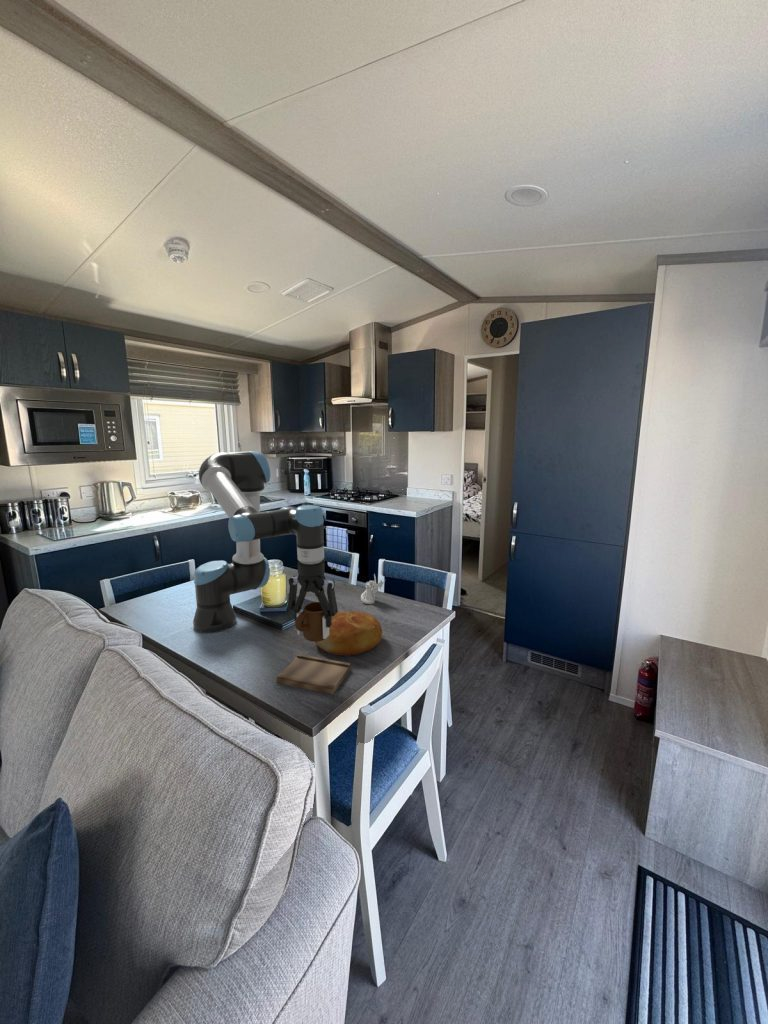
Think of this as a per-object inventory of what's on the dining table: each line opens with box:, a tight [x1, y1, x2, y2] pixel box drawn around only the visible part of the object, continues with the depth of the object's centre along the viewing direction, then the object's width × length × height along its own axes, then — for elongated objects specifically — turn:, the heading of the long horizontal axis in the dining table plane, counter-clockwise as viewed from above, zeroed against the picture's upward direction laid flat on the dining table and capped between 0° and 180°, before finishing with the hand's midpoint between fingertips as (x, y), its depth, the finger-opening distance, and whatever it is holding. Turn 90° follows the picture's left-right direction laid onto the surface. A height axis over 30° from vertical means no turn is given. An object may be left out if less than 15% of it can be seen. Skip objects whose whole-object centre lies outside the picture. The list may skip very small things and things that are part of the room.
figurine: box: [360, 573, 386, 605], centre depth 181 cm, size 11×8×12 cm
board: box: [275, 653, 351, 695], centre depth 128 cm, size 18×13×2 cm
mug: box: [294, 601, 325, 643], centre depth 125 cm, size 12×8×9 cm, turn 145°
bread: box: [314, 610, 383, 656], centre depth 147 cm, size 23×23×10 cm
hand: (313, 634), depth 126 cm, fingers closed on mug, 8 cm apart
